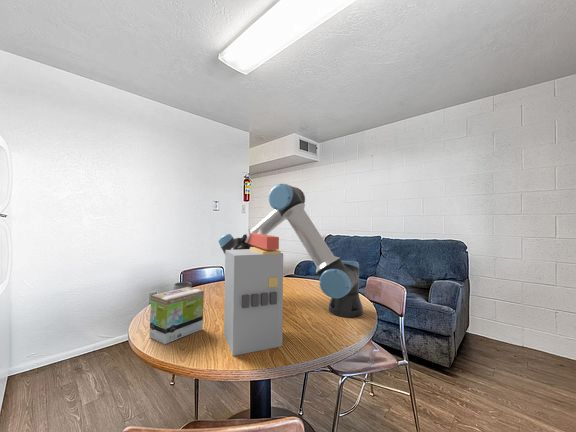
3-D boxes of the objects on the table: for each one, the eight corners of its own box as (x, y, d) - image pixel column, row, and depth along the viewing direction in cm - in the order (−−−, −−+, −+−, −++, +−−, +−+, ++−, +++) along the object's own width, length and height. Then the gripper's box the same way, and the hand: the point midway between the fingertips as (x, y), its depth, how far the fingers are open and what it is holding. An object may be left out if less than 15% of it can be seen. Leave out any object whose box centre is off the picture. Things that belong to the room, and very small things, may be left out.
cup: (195, 305, 122) (195, 284, 122) (173, 309, 117) (174, 287, 117) (190, 300, 130) (190, 280, 130) (170, 303, 124) (170, 282, 125)
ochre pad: (249, 249, 96) (249, 247, 96) (265, 248, 98) (265, 246, 98) (262, 254, 81) (262, 251, 81) (280, 253, 83) (280, 251, 83)
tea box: (166, 345, 83) (167, 299, 83) (148, 338, 88) (149, 294, 88) (203, 329, 95) (204, 289, 96) (186, 323, 101) (187, 285, 101)
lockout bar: (245, 242, 106) (245, 233, 106) (254, 242, 108) (254, 233, 108) (266, 249, 80) (267, 237, 81) (278, 249, 82) (278, 237, 82)
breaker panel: (224, 334, 91) (225, 250, 92) (266, 327, 98) (267, 248, 98) (233, 357, 76) (235, 256, 76) (283, 347, 82) (284, 253, 83)
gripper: (261, 262, 120) (277, 240, 102) (224, 264, 113) (234, 241, 95) (259, 247, 124) (274, 223, 105) (223, 248, 117) (232, 223, 98)
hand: (255, 232), depth 100 cm, fingers closed on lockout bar, 4 cm apart
